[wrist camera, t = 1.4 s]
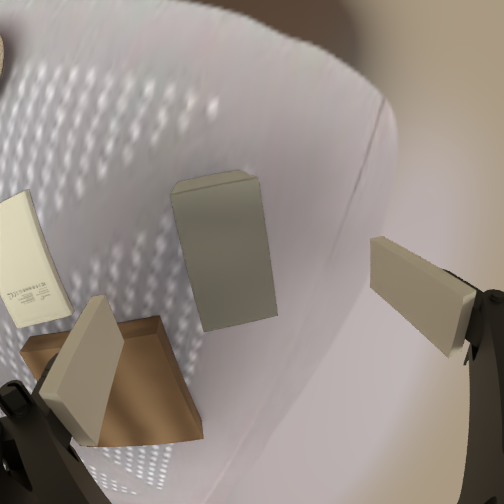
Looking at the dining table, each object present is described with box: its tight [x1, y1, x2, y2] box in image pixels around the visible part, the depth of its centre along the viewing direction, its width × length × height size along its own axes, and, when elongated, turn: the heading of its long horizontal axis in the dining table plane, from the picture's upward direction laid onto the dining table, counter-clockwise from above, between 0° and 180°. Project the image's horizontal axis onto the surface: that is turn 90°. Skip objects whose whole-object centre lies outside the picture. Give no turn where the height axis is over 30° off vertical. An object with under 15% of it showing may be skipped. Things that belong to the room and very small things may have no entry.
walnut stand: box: [20, 316, 204, 447], centre depth 27 cm, size 16×16×3 cm
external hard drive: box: [0, 189, 74, 328], centre depth 22 cm, size 2×8×12 cm
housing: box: [170, 170, 278, 332], centre depth 21 cm, size 5×9×8 cm, turn 9°
